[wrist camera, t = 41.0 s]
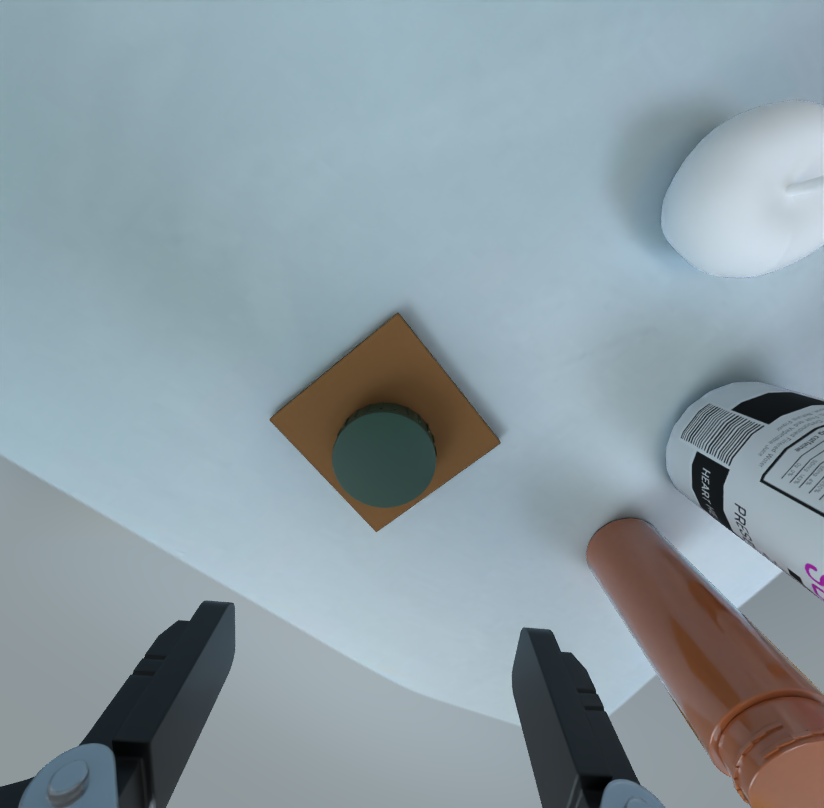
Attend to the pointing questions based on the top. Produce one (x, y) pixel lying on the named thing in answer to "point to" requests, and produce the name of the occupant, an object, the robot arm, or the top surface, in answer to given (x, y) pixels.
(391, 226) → the top surface
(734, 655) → the jar
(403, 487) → the lid
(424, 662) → the top surface
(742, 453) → the supplement can
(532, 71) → the top surface
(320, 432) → the coaster
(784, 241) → the plain white apple
